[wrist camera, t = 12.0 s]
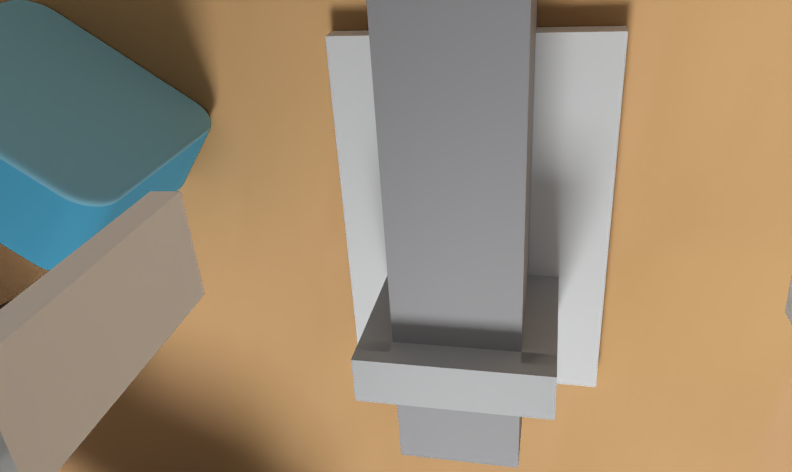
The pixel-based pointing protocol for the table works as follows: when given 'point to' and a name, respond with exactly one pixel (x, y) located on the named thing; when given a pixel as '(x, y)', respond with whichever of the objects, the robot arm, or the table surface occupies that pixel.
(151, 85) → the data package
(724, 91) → the table surface
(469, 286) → the grey flanged post
